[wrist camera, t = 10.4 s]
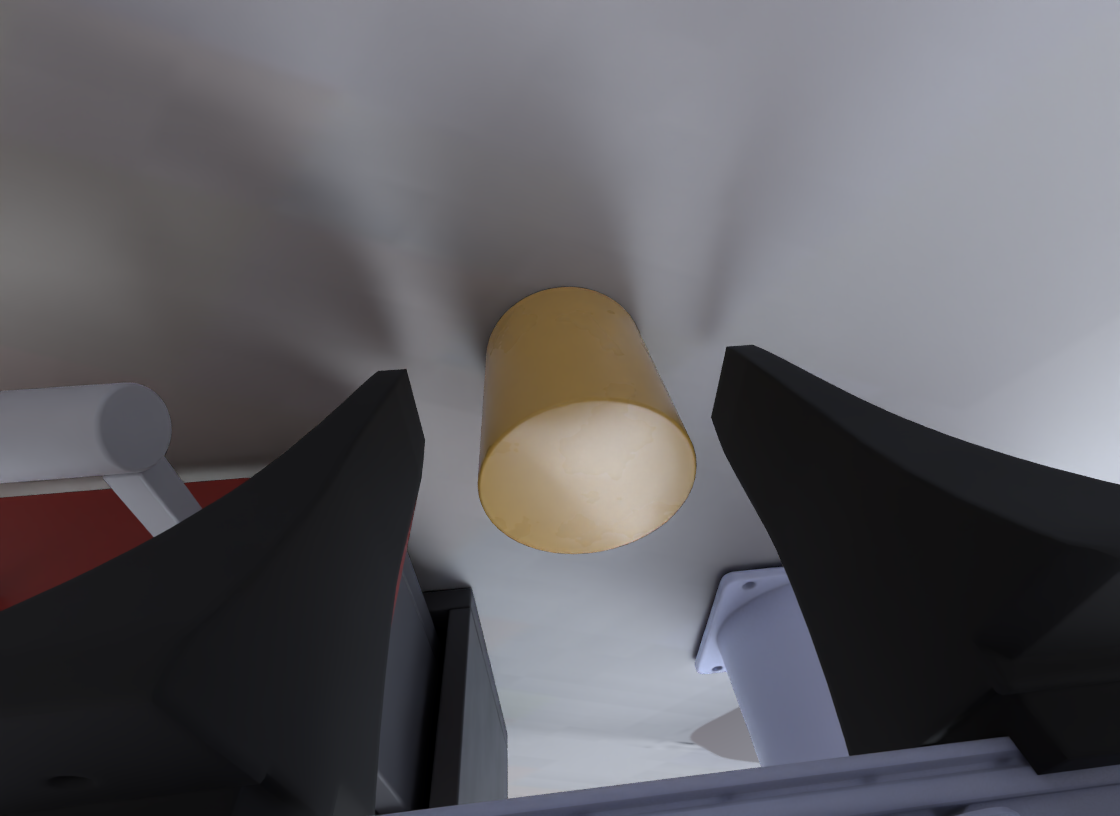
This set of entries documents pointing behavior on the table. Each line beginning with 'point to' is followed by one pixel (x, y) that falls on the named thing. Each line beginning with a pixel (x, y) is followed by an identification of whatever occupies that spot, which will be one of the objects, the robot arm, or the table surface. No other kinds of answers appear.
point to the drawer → (155, 506)
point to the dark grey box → (466, 709)
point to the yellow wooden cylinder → (578, 427)
